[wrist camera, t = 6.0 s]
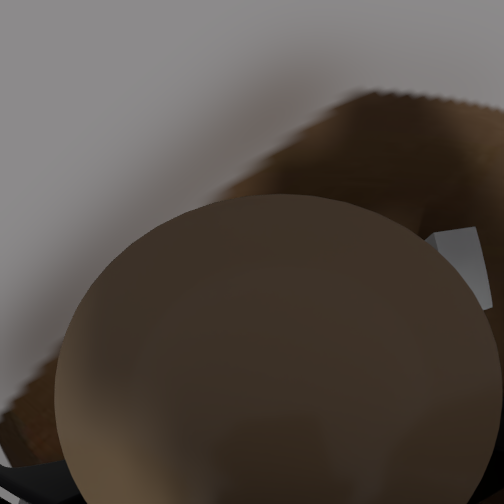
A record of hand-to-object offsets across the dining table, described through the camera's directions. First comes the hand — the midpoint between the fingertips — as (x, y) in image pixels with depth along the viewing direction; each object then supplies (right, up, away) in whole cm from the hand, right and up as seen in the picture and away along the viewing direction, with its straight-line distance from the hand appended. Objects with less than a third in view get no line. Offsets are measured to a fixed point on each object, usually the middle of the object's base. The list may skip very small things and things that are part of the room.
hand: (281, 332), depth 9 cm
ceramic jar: (+1, -3, +6) cm, 7 cm away
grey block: (+14, 0, +11) cm, 18 cm away
